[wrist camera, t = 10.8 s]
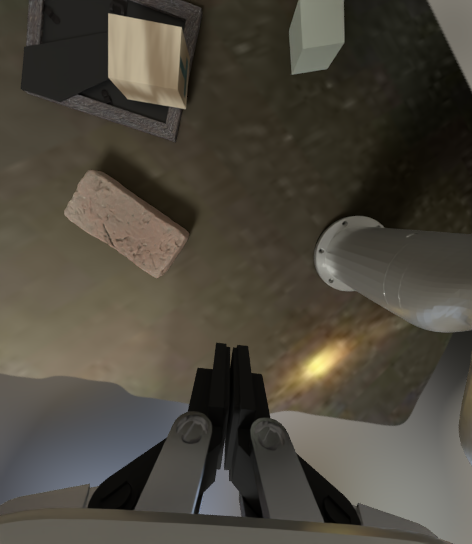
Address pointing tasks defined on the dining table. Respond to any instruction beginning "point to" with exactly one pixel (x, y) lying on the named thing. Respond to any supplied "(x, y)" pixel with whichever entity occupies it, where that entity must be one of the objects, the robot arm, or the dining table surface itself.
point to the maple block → (148, 61)
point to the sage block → (316, 34)
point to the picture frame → (97, 58)
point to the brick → (126, 223)
